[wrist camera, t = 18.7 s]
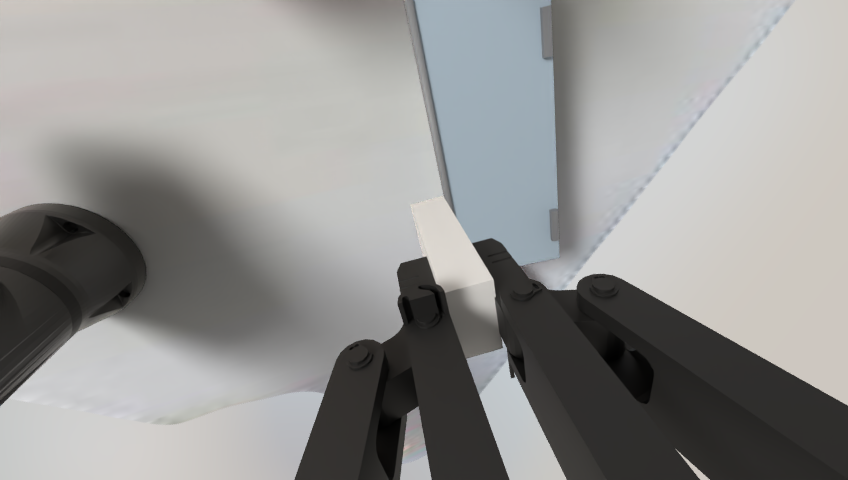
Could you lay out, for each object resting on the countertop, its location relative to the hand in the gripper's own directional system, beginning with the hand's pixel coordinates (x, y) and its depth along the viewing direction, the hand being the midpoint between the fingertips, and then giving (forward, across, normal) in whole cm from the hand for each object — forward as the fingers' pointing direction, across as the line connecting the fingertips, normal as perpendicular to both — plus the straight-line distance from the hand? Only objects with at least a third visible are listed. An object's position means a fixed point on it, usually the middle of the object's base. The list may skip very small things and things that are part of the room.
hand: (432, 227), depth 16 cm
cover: (+23, +5, -5) cm, 24 cm away
